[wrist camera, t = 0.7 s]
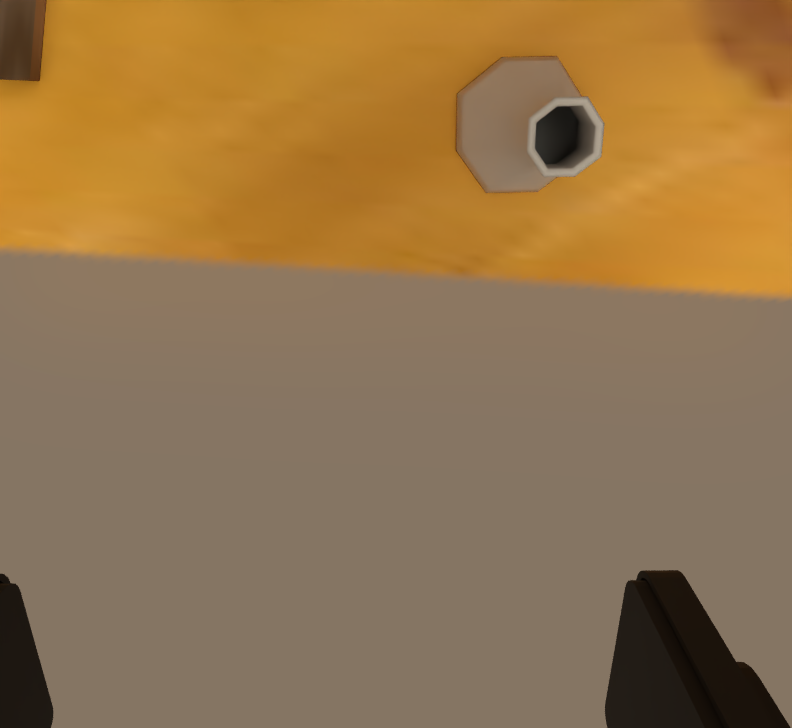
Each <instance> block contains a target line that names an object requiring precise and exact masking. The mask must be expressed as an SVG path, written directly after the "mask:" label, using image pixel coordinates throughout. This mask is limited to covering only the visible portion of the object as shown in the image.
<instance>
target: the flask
mask: <svg viewBox="0 0 792 728" xmlns="http://www.w3.org/2000/svg"><path fill="white" fill-rule="evenodd" d="M603 132H604V122H603V121H602V119H601V118H600V116H599V114H598V113H597V111H596V109H595V108H594V106H593V105H592V103H591V101H590V100H589V98H588V97H582V96H581V94H580V93H579V91H578V89H577V88H576V86H575V84H574V83H573V81H572V80H571V78H570V76H569V75H568V73H567V71H566V70H565V68H564V67H563V65H562V63H561V62H560V60H559V58H558V57H557V56H541V57H502V58H500V59H499V60H498V61H497V62H495V63H494V64H493V65H492V66H491V67H489V68H488V69H487V70H486V71H484V72H483V73H482V74H481V75H480V76H478V77H477V78H476V79H475V80H473V81H472V82H471V83H470V84H469V85H467V86H466V87H465V88H464V89H462V90H461V91H460V92H459V93H458V94H457V138H456V151H457V152H458V154H459V155H460V156H461V158H462V159H463V161H464V162H465V164H466V165H467V166H468V168H469V169H470V171H471V172H472V173H473V175H474V176H475V178H476V179H477V181H478V182H479V183H480V185H481V186H482V188H483V189H484V190H485V192H486V193H509V192H538V191H539V190H541V189H542V188H543V187H545V186H546V185H547V184H549V183H550V182H551V181H553V180H554V179H555V178H557V177H575V176H576V175H577V174H579V173H580V172H581V171H583V170H584V169H585V168H587V167H588V166H589V165H591V164H592V163H594V162H595V161H596V160H598V159H599V158H600V157H601V153H602V143H603Z"/></svg>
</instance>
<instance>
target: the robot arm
mask: <svg viewBox="0 0 792 728" xmlns="http://www.w3.org/2000/svg"><path fill="white" fill-rule="evenodd" d="M605 716H606V723H607V727H608V728H790V726H789V725H788V723H787V721H786V720H785V718H784V717H783V715H782V713H781V712H780V710H779V709H778V707H777V705H776V704H775V702H774V701H773V699H772V697H771V696H770V694H769V693H768V691H767V689H766V688H765V686H764V685H763V683H762V681H761V680H760V678H759V677H758V676H757V674H756V673H755V672H754V670H753V669H752V668H751V667H750V666H748V665H747V664H745V663H744V662H736V661H735V659H734V658H733V656H732V654H731V653H730V651H729V649H728V648H727V646H726V644H725V643H724V641H723V639H722V638H721V636H720V634H719V633H718V631H717V629H716V628H715V626H714V624H713V623H712V621H711V620H710V618H709V616H708V614H707V613H706V611H705V610H704V608H703V606H702V604H701V603H700V601H699V599H698V598H697V596H696V595H695V593H694V591H693V590H692V588H691V586H690V584H689V583H688V581H687V580H686V578H685V576H684V575H683V574H682V573H681V572H680V571H678V570H675V571H674V570H669V571H640V572H639V574H638V576H637V579H636V580H631V581H628V582H627V584H626V587H625V593H624V599H623V604H622V610H621V616H620V621H619V627H618V633H617V639H616V645H615V651H614V656H613V663H612V668H611V674H610V680H609V686H608V691H607V697H606V704H605ZM52 720H53V706H52V703H51V699H50V696H49V692H48V688H47V685H46V681H45V678H44V674H43V670H42V667H41V663H40V660H39V656H38V653H37V649H36V646H35V642H34V638H33V635H32V631H31V628H30V624H29V621H28V617H27V613H26V610H25V607H24V603H23V599H22V595H21V592H20V589H19V587H18V586H17V585H16V584H12V583H10V581H9V579H8V577H6V576H5V575H4V574H0V728H51V725H52Z"/></svg>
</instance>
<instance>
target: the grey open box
mask: <svg viewBox="0 0 792 728" xmlns="http://www.w3.org/2000/svg"><path fill="white" fill-rule="evenodd" d="M45 8H46V0H0V79H4V80H29V81H39V79H40V67H41V55H42V43H43V32H44V20H45Z"/></svg>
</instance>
